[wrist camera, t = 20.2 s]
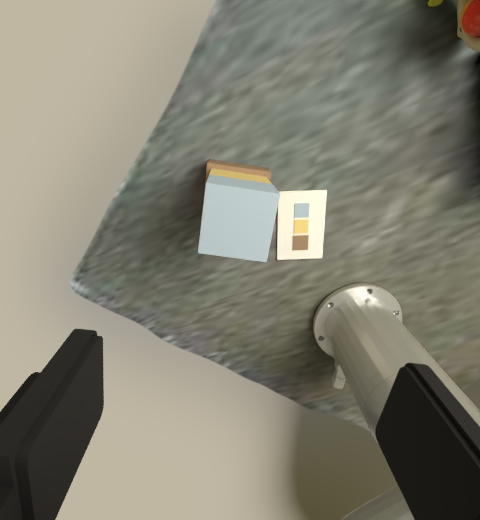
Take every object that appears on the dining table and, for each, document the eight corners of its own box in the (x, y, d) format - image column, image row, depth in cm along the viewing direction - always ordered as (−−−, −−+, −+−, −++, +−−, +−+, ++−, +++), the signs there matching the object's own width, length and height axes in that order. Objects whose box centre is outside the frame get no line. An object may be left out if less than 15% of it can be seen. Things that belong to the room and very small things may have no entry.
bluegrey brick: (261, 243, 33) (266, 262, 29) (202, 235, 33) (197, 253, 28) (272, 184, 31) (280, 193, 26) (209, 174, 30) (205, 182, 26)
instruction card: (321, 257, 44) (322, 258, 43) (277, 259, 44) (277, 260, 43) (326, 189, 40) (327, 190, 40) (277, 191, 40) (278, 192, 40)
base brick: (257, 224, 42) (260, 233, 38) (203, 216, 41) (200, 225, 37) (267, 168, 39) (271, 172, 35) (209, 159, 39) (207, 162, 35)
